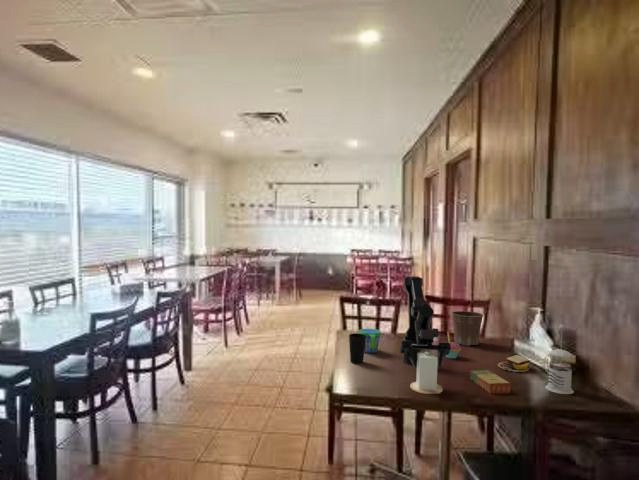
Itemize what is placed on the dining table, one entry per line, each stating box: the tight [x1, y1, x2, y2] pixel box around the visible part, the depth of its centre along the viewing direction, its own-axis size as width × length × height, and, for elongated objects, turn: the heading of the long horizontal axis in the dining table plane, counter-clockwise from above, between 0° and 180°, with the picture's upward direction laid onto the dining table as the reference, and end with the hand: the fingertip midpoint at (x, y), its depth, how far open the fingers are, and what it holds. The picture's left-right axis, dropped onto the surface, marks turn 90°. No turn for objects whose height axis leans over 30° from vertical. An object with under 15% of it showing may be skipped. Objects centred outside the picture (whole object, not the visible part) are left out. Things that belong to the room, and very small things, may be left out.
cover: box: [415, 350, 438, 390], centre depth 170 cm, size 6×6×13 cm
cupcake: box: [445, 331, 462, 359], centre depth 213 cm, size 9×8×12 cm
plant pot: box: [451, 310, 484, 347], centre depth 240 cm, size 16×16×16 cm
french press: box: [543, 324, 575, 395], centre depth 173 cm, size 10×12×25 cm
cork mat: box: [409, 381, 444, 395], centre depth 170 cm, size 12×12×1 cm
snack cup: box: [358, 328, 382, 354], centre depth 219 cm, size 16×10×10 cm
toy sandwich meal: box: [497, 355, 530, 373], centre depth 198 cm, size 12×14×5 cm
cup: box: [348, 333, 366, 365], centre depth 201 cm, size 8×8×12 cm
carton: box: [469, 369, 511, 394], centre depth 175 cm, size 8×16×4 cm, turn 7°
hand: (427, 367), depth 169 cm, fingers open, 9 cm apart
